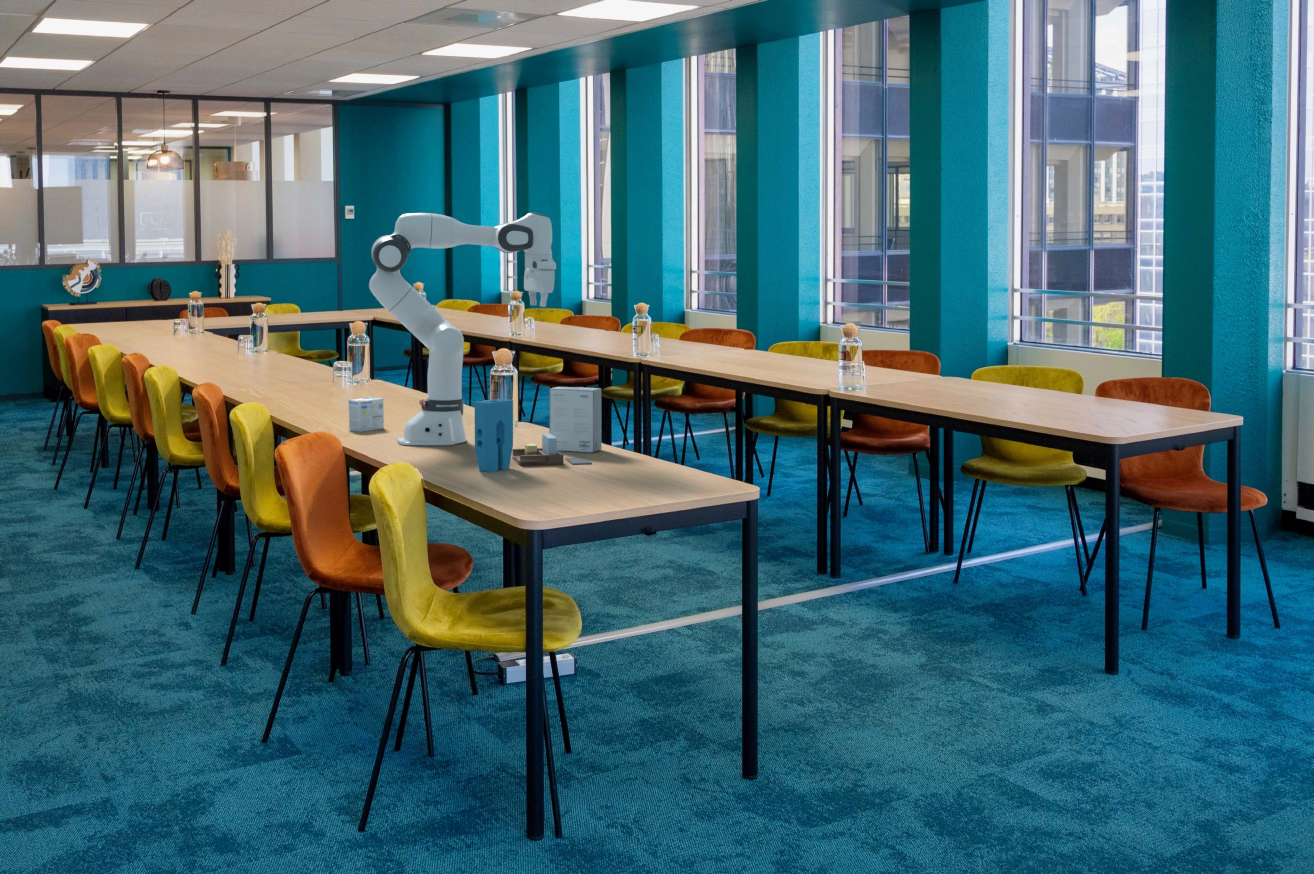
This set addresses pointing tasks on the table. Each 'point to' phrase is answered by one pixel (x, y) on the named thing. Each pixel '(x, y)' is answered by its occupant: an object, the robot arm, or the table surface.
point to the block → (493, 434)
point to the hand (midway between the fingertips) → (538, 306)
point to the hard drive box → (575, 418)
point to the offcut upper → (531, 447)
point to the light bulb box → (366, 414)
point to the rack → (537, 458)
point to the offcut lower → (530, 453)
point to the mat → (578, 461)
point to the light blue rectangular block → (549, 444)
